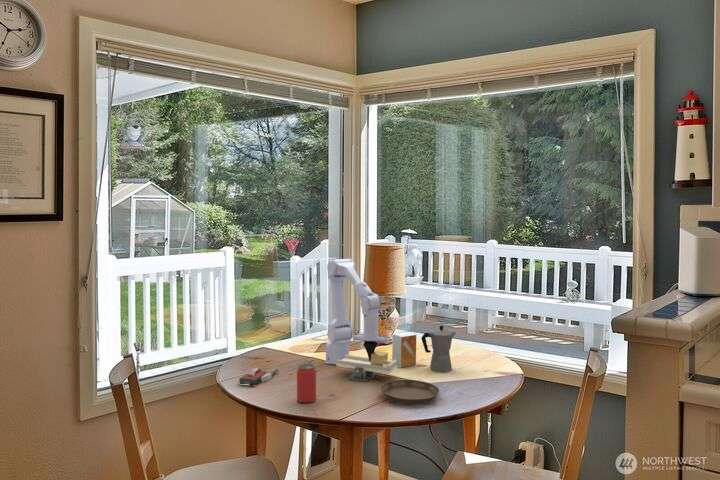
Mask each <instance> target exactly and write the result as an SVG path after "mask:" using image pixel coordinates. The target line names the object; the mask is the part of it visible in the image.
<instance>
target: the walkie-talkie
mask: <svg viewBox="0 0 720 480" xmlns="http://www.w3.org/2000/svg"><path fill="white" fill-rule="evenodd" d="M261 369H262V368H260V367H254V368H252V369H251V370H250V371H249V372H247V373H246V374H245V375H242V376H241V377H239V380H238V384H239V383H240V384H249V385H251V386H250V387H255V386H254V385H256V384H257V383H258V384H260V383H264V382H263V381H266V382H268V381H270V380H271V379H273V376H274V375H276V373H277V372H279V369H278V368H276V369H275V370H273V371H271V372H267V371H266V370H261ZM269 379H270V380H269ZM267 380H268V381H267ZM259 382H260V383H259ZM258 384H257V385H258ZM257 385H256V386H257Z"/></svg>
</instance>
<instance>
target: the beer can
mask: <svg viewBox="0 0 720 480" xmlns="http://www.w3.org/2000/svg"><path fill="white" fill-rule="evenodd" d="M296 399H297V401H298V402H299V401H301V402H311V403H313V402H315V401H316V399H317V371H316V367H315V365H314V364H309V363H305V364H300V365H298V367H297V371H296ZM301 402H300V403H301Z"/></svg>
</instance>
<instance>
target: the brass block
mask: <svg viewBox="0 0 720 480" xmlns="http://www.w3.org/2000/svg"><path fill="white" fill-rule="evenodd" d="M388 353H389V352H386V351H381V350H375V351H374V352H373V353H372V354H371V365H377V366H384V367H385V366H386V365H387V361H388V355H389V354H388Z"/></svg>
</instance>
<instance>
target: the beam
mask: <svg viewBox="0 0 720 480" xmlns="http://www.w3.org/2000/svg"><path fill="white" fill-rule="evenodd" d="M335 365H336V367H340V368H344V369H345V368H347V369H354V370H355V367H359V368H363V370H364V371H371V372H377V373H378V374H384V375H391V373H393V372H394V371H395V370H396V369H397V368H398V366H397V360H394V361H392V360H387V365H386V366H385V367H384V366H377V365H371V361H369V358H368V357H365V356H359V355H351V354H349V355H345V358H344V359H342V360H337V362H336V364H335Z"/></svg>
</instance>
